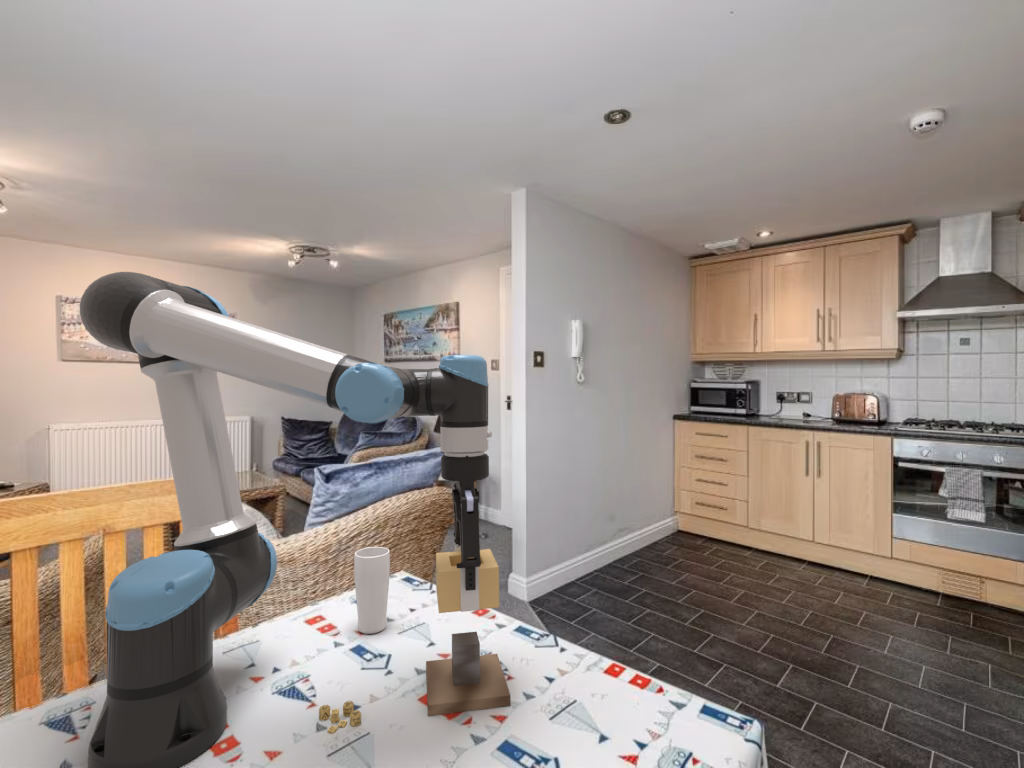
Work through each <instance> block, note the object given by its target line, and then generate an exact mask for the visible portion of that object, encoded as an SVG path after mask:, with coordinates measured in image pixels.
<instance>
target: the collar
mask: <svg viewBox="0 0 1024 768" xmlns="http://www.w3.org/2000/svg"><path fill="white" fill-rule="evenodd" d="M473 558H474V557H473ZM467 559H468V558H467ZM480 560H481V566H480V567H479V610H486V609H496V608H500V568H499V567H500V566H499V565H498V563H497V561H496V559H495V556H494V554H493V552H492V550H491V549H490V548H486V549H480ZM457 563H461V551H457V552H455V551H447V552H446V551H444V552H436V553H435V569H436V571H435V579H436V581H435V585H436V586H435V587H436V589H435V590H436V599H437V608H438V609H437V610H438V614H443V613H444V614H445V613H454V612H455V613H457V612H461V607H460V568H457V567H456V565H457Z"/></svg>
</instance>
